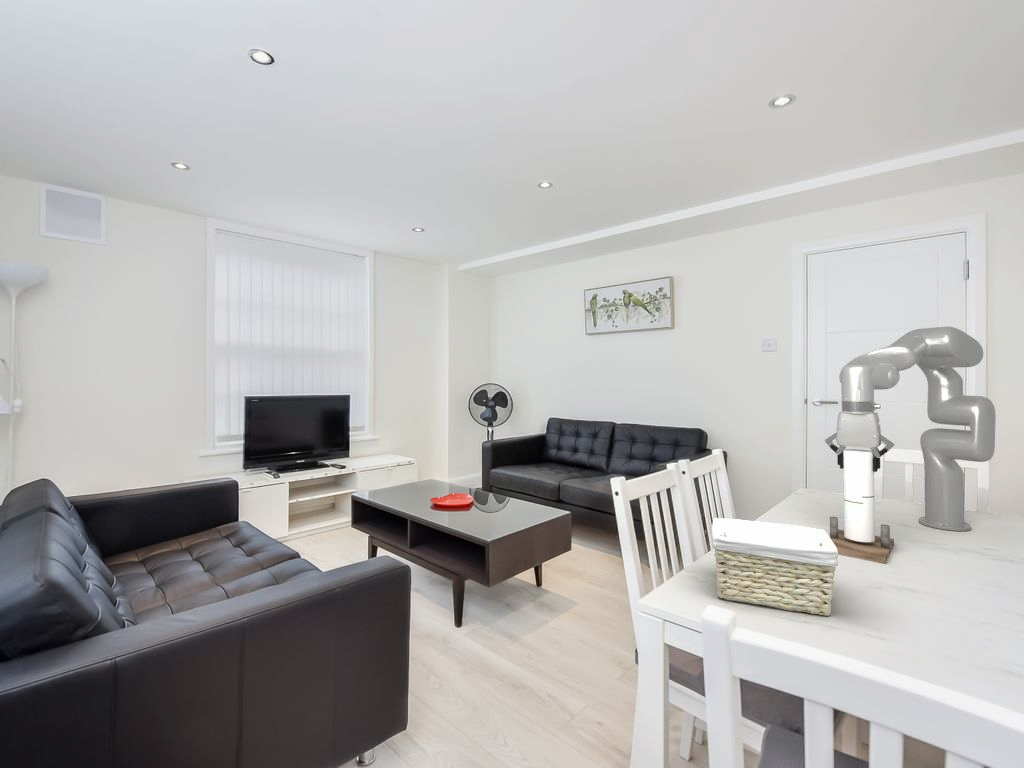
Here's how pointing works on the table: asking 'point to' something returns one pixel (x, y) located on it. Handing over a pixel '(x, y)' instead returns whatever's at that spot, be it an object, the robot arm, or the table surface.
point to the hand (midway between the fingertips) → (858, 469)
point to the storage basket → (774, 565)
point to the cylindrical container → (859, 495)
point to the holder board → (862, 544)
